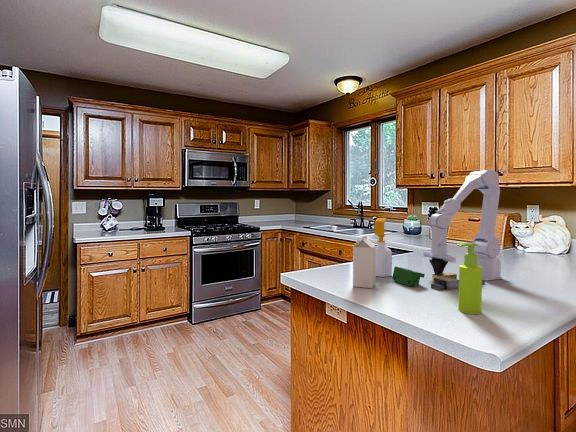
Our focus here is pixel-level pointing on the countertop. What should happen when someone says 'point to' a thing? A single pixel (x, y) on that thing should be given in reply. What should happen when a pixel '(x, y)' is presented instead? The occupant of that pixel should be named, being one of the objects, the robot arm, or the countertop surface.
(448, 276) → the light wood block
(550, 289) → the countertop surface
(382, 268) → the soap bottle
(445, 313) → the countertop surface
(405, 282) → the green angular piece
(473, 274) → the soap dispenser
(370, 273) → the milk carton
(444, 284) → the chain end blocks
